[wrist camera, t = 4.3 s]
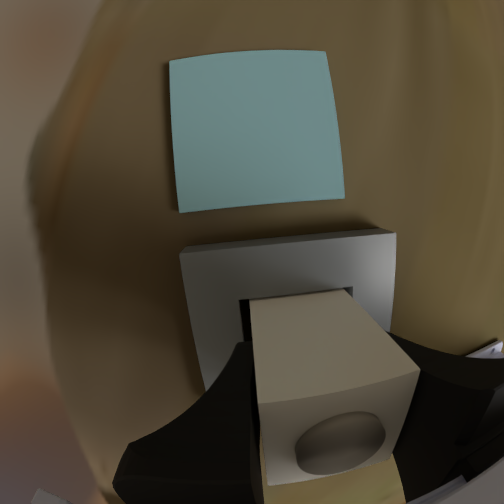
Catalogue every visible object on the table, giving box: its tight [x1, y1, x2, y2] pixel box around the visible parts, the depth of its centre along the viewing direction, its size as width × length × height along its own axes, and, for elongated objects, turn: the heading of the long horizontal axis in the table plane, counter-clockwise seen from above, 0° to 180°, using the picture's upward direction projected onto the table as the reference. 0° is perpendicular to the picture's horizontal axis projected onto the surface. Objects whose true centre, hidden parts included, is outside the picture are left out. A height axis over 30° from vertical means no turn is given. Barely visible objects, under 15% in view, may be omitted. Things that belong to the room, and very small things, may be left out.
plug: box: [249, 288, 420, 486], centre depth 9 cm, size 4×4×7 cm
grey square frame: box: [179, 228, 396, 391], centre depth 12 cm, size 9×9×2 cm
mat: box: [169, 50, 345, 213], centre depth 11 cm, size 7×7×1 cm
